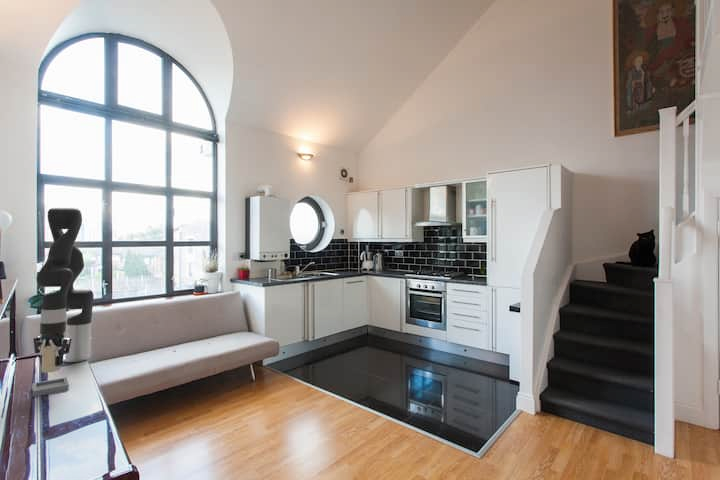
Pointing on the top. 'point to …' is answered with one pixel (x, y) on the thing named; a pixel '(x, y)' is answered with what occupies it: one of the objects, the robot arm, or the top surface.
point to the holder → (50, 386)
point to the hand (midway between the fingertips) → (51, 364)
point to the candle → (49, 360)
